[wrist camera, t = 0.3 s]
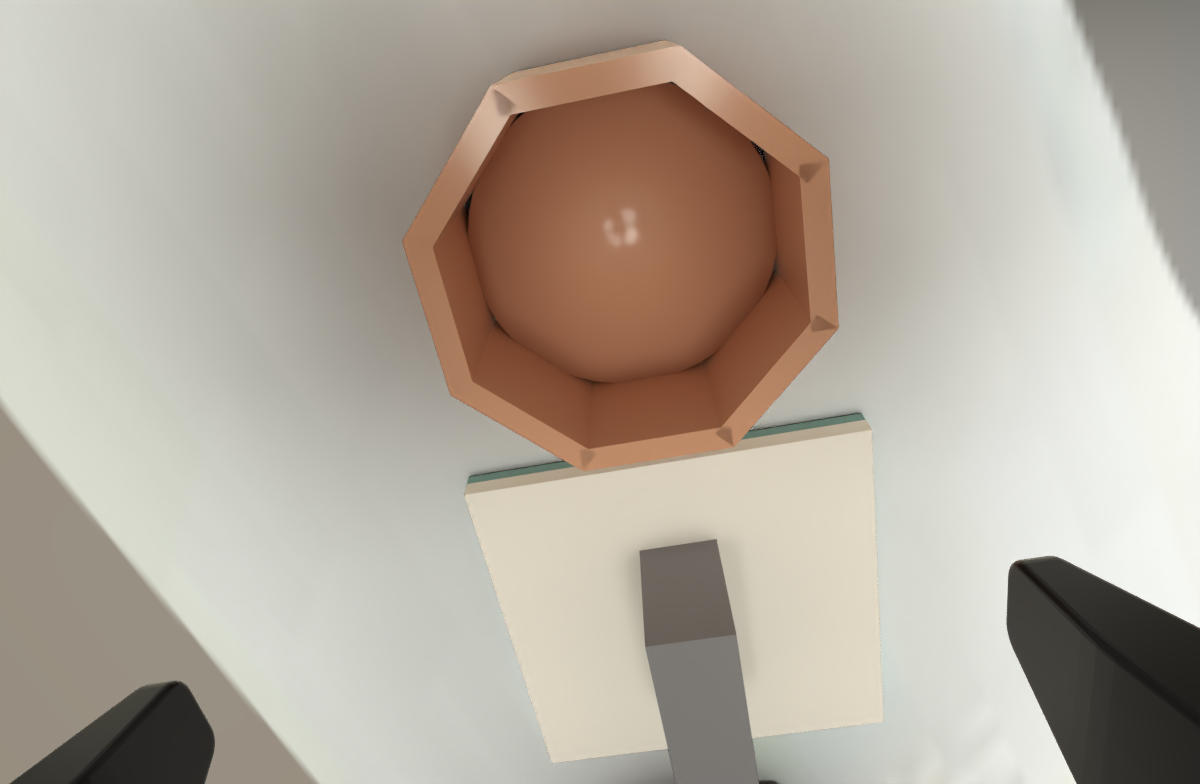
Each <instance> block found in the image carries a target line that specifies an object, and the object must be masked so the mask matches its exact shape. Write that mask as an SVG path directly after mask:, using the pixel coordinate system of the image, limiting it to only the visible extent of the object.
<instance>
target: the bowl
mask: <svg viewBox="0 0 1200 784" xmlns="http://www.w3.org/2000/svg"><path fill="white" fill-rule="evenodd" d="M671 81H672V82H674V83H675V84H674V83H671ZM522 112H524V113H523V114H522V115H521V116H520V117H518V118H517V119H516V117H517V116H518V114H519V113H522ZM515 119H516V121H515ZM514 121H515V122H514ZM750 140H751V141H753V142H754V143H755V144H757V145H758V146H759V147H761V148H762V149H763V150H764V156H765V165H764V163H763V161H762V159H761V157H760V155H759V153H758V152H757V150H756V149H755V147H754V146H753V144H752V142H751V141H750ZM473 190H474V191H473ZM472 192H473V195H472V200H471V205H470V210H469V221H468V217H467V214H466V210H465V206H464V205H465V204H466V202H467V200H468V199H469V197H470V195H471V194H472ZM402 243H403V246H404V249H405V252H406V256H407V259H408V262H409V265H410V268H411V271H412V275H413V278H414V281H415V284H416V287H417V290H418V294H419V297H420V300H421V303H422V306H423V309H424V313H425V316H426V319H427V322H428V325H429V329H430V332H431V335H432V338H433V341H434V344H435V348H436V351H437V354H438V357H439V360H440V363H441V367H442V370H443V373H444V376H445V379H446V383H447V386H448V389H449V392H450V395H451V396H453V397H454V398H456V399H458V400H460V401H461V402H463V403H465V404H467V405H468V406H470V407H472V408H474V409H475V410H477V411H479V412H481V413H482V414H484V415H486V416H488V417H489V418H491V419H493V420H494V421H496V422H498V423H500V424H501V425H503V426H505V427H507V428H508V429H510V430H512V431H514V432H515V433H517V434H519V435H521V436H522V437H524V438H526V439H528V440H529V441H531V442H533V443H535V444H536V445H538V446H540V447H541V448H543V449H545V450H547V451H548V452H550V453H552V454H554V455H555V456H557V457H559V458H561V459H562V460H564V461H566V462H568V463H569V464H571V465H573V466H575V467H576V468H578V469H580V470H582V471H583V470H584V471H589V470H595V469H602V468H608V467H614V466H620V465H626V464H633V463H639V462H645V461H651V460H658V459H664V458H670V457H676V456H683V455H689V454H695V453H701V452H707V451H714V450H720V449H726V448H732V447H735V446H736V445H737V444H738V442H739V441H740V440H741V439H742V438H743V437H744V436H745V434H746V433H747V432H748V431H749V430H750V429H751V428H752V426H753V425H754V424H755V423H756V422H757V421H758V420H759V418H760V417H761V416H762V415H763V414H764V413H765V412H766V410H767V409H768V408H769V407H770V406H771V405H772V404H773V402H774V401H775V400H776V399H777V398H778V397H779V396H780V394H781V393H782V392H783V391H784V390H785V389H786V388H787V387H788V385H789V384H790V383H791V382H792V381H793V380H794V379H795V377H796V376H797V375H798V374H799V373H800V372H801V371H802V369H803V368H804V367H805V366H806V365H807V364H808V363H809V361H810V360H811V359H812V358H813V357H814V356H815V355H816V353H817V352H818V351H819V350H820V349H821V348H822V347H823V345H824V344H825V343H826V342H827V341H828V340H829V339H830V337H831V336H832V335H833V334H834V333H835V332H836V331H837V329H838V328H839V325H838V308H837V291H836V274H835V257H834V239H833V222H832V205H831V188H830V171H829V159H828V158H827V157H826V156H824V155H823V154H822V153H821V152H819V151H818V150H817V149H815V148H814V147H813V146H811V145H810V144H809V143H808V142H806V141H805V140H804V139H802V138H801V137H800V136H798V135H797V134H796V133H794V132H793V131H792V130H791V129H789V128H788V127H787V126H785V125H784V124H783V123H781V122H780V121H779V120H777V119H776V118H775V117H774V116H772V115H771V114H770V113H768V112H767V111H766V110H764V109H763V108H762V107H761V106H759V105H758V104H757V103H755V102H754V101H753V100H751V99H750V98H749V97H747V96H746V95H745V94H744V93H742V92H741V91H740V90H738V89H737V88H736V87H734V86H733V85H732V84H730V83H729V82H728V81H727V80H725V79H724V78H723V77H721V76H720V75H719V74H717V73H716V72H715V71H714V70H712V69H711V68H710V67H708V66H707V65H706V64H704V63H703V62H702V61H700V60H699V59H698V58H697V57H695V56H694V55H693V54H691V53H690V52H689V51H687V50H686V49H685V48H683V47H682V46H681V45H678V44H675V43H673V42H670V41H668V40H662V41H657V42H653V43H648V44H643V45H639V46H634V47H629V48H624V49H620V50H615V51H610V52H606V53H601V54H596V55H591V56H587V57H582V58H577V59H573V60H568V61H563V62H558V63H554V64H549V65H544V66H540V67H535V68H530V69H525V70H521V71H516V72H513V73H511V74H510V75H508V76H506V77H504V78H503V79H501V80H499V81H498V82H496V83H494V84H492V85H491V86H490V87H489V89H488V91H487V92H486V94H485V96H484V98H483V99H482V101H481V103H480V105H479V107H478V108H477V110H476V112H475V114H474V115H473V117H472V119H471V121H470V122H469V124H468V126H467V128H466V129H465V131H464V133H463V135H462V137H461V138H460V140H459V142H458V144H457V145H456V147H455V149H454V151H453V152H452V154H451V156H450V158H449V159H448V161H447V163H446V165H445V167H444V168H443V170H442V172H441V174H440V175H439V177H438V179H437V181H436V182H435V184H434V186H433V188H432V189H431V191H430V193H429V195H428V197H427V198H426V200H425V202H424V204H423V205H422V207H421V209H420V211H419V212H418V214H417V216H416V218H415V220H414V221H413V223H412V225H411V227H410V228H409V230H408V232H407V234H406V235H405V237H404V239H403V242H402ZM774 262H775V270H774V271H773V266H774ZM772 271H773V272H772ZM495 318H496V320H495Z"/></svg>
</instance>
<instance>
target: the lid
mask: <svg viewBox="0 0 1200 784" xmlns="http://www.w3.org/2000/svg"><path fill="white" fill-rule="evenodd" d="M464 497H465V500H466V503H467V506H468V509H469V512H470V516H471V519H472V522H473V525H474V528H475V531H476V534H477V537H478V540H479V543H480V546H481V549H482V552H483V555H484V558H485V561H486V564H487V567H488V570H489V574H490V577H491V580H492V583H493V586H494V589H495V592H496V595H497V598H498V601H499V604H500V607H501V610H502V613H503V616H504V619H505V622H506V625H507V628H508V632H509V635H510V638H511V641H512V644H513V647H514V650H515V653H516V656H517V659H518V662H519V665H520V668H521V671H522V674H523V677H524V680H525V683H526V686H527V690H528V693H529V696H530V699H531V702H532V705H533V708H534V711H535V714H536V717H537V720H538V723H539V726H540V729H541V732H542V735H543V738H544V741H545V744H546V748H547V751H548V754H549V757H550V760H551V763H558V762H566V761H574V760H582V759H590V758H598V757H606V756H614V755H622V754H630V753H638V752H646V751H654V750H662V749H668V751H669V756H670V760H671V765H672V769H673V774H674V778H675V783H676V784H759V780H758V774H757V767H756V760H755V754H754V747H753V741H752V738H759V737H767V736H775V735H783V734H791V733H799V732H807V731H815V730H823V729H831V728H839V727H847V726H855V725H863V724H871V723H879V722H884V719H883V694H882V669H881V644H880V619H879V594H878V569H877V544H876V519H875V494H874V469H873V444H872V429H871V428H870V426H869V424H868V423H867V421H866V420H861V421H854V422H848V423H842V424H836V425H830V426H823V427H817V428H811V429H805V430H799V431H792V432H786V433H780V434H774V435H768V436H761V437H755V438H749V439H743V440H740V441H739V442H738V444H737V445H736V446H735V447H732V448H726V449H720V450H714V451H707V452H701V453H695V454H689V455H683V456H676V457H670V458H664V459H658V460H651V461H645V462H639V463H633V464H626V465H620V466H614V467H608V468H602V469H595V470H589V471H584V470H583V471H582V470H580V469H578V468H576V467H569V468H563V469H557V470H551V471H544V472H538V473H532V474H526V475H519V476H513V477H507V478H501V479H495V480H488V481H482V482H476V483H470V484H467V486H466V489H465V493H464Z"/></svg>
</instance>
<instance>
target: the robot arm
mask: <svg viewBox="0 0 1200 784" xmlns="http://www.w3.org/2000/svg"><path fill="white" fill-rule="evenodd" d="M1007 631H1008V635H1009V639H1010V642H1011V645H1012V647H1013V650H1014V652H1015V654H1016V656H1017V658H1018V660H1019V662H1020V665H1021V667H1022V669H1023V671H1024V673H1025V675H1026V677H1027V679H1028V682H1029V684H1030V686H1031V688H1032V690H1033V692H1034V694H1035V697H1036V699H1037V701H1038V703H1039V705H1040V707H1041V709H1042V711H1043V714H1044V716H1045V718H1046V720H1047V722H1048V724H1049V726H1050V729H1051V731H1052V733H1053V735H1054V737H1055V739H1056V741H1057V743H1058V746H1059V748H1060V750H1061V752H1062V754H1063V756H1064V758H1065V761H1066V763H1067V765H1068V767H1069V769H1070V771H1071V773H1072V775H1073V777H1074V779H1075V781H1076V783H1077V784H1200V628H1199V627H1197V626H1195V625H1193V624H1191V623H1189V622H1187V621H1185V620H1183V619H1181V618H1179V617H1177V616H1175V615H1173V614H1171V613H1169V612H1167V611H1165V610H1163V609H1161V608H1159V607H1157V606H1155V605H1153V604H1151V603H1149V602H1147V601H1145V600H1143V599H1141V598H1139V597H1137V596H1135V595H1133V594H1131V593H1129V592H1127V591H1125V590H1123V589H1121V588H1119V587H1117V586H1115V585H1113V584H1111V583H1109V582H1107V581H1105V580H1103V579H1101V578H1099V577H1097V576H1095V575H1093V574H1091V573H1089V572H1087V571H1085V570H1083V569H1081V568H1079V567H1077V566H1075V565H1073V564H1071V563H1069V562H1067V561H1065V560H1063V559H1061V558H1058V557H1055V556H1045V557H1038V558H1031V559H1024V560H1018V561H1016V562H1014V563H1013V564H1012V565H1011V567H1010V569H1009V575H1008V598H1007ZM214 747H215V738H214V733H213V730H212V727H211V725H210V724H209V722H208V720H207V719H206V717H205V715H204V713H203V711H202V710H201V708H200V706H199V704H198V703H197V701H196V699H195V697H194V696H193V694H192V692H191V690H190V689H189V688H188V686H187V685H186V684H184V683H182V682H181V681H168V682H160V683H153V684H148V685H145V686H142V687H140V688H139V689H137V690H135V691H134V692H133V693H131V694H130V695H129V696H127V697H126V698H125V699H123V700H122V701H121V702H119V703H118V704H117V705H115V706H114V707H112V708H111V709H110V710H108V711H107V712H106V713H104V714H103V715H102V716H100V717H99V718H98V719H96V720H95V721H94V722H92V723H91V724H90V725H88V726H87V727H85V728H84V729H83V730H82V731H80V732H79V733H77V734H76V735H75V736H73V737H72V738H71V739H69V740H68V741H67V742H65V743H64V744H63V745H61V746H60V747H59V748H57V749H56V750H54V751H53V752H52V753H50V754H49V755H48V756H46V757H45V758H44V759H42V760H41V761H40V762H39V763H37V764H35V765H34V766H33V767H32V768H30V769H29V770H27V771H26V772H25V773H23V774H22V775H21V776H19V777H18V778H17V779H15V780H14V781H13V782H11V783H10V784H205V781H206V778H207V774H208V771H209V768H210V764H211V761H212V757H213V754H214Z"/></svg>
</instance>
